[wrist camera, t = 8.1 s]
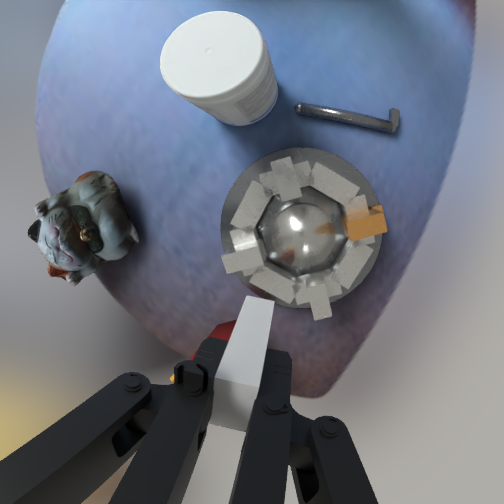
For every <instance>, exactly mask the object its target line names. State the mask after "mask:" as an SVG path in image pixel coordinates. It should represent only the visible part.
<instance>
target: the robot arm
mask: <svg viewBox="0 0 504 504" xmlns="http://www.w3.org/2000/svg"><path fill="white" fill-rule="evenodd" d="M274 302H275V301H271V300H266V299H261V298H257V297H252V296H246V299H245V301H244V304H243V306H242V309H241V311H240V314H239V317H238V319H237V322H236V324H235V327H234V329H233V332H232V334H231V337H230V340H229V341H227V340H223V339H218V338H214V337H209V338H207V339H206V340H204V341H203V342H202V343H201V345H200V347H199V349H198V351H197V353H196V355H195V356H194V358H193V360H186V361H182V362H180V363H178V364H177V365H176V366H175V367H174V384H170V385H157V384H151V383H150V381H149V379H148V378H146V377H145V376H144V375H142V374H140V373H134V372H130V373H124V374H122V375H120V376H118V377H117V378H116V379H114V380H113V381H112V382H110V383H109V384H108V385H106V386H105V387H104V388H102V389H101V390H100V391H98V392H97V393H95V394H94V395H93V396H91V397H90V398H89V399H87V400H86V401H85V402H83V403H82V404H81V405H79V406H78V407H76V408H75V409H74V410H72V411H71V412H69V413H68V414H67V415H65V416H64V417H62V418H61V419H60V420H58V421H57V422H56V423H54V424H53V425H51V426H50V427H49V428H47V429H46V430H44V431H43V432H42V433H40V434H39V435H37V436H36V437H35V438H33V439H32V440H30V441H29V442H27V443H26V444H24V445H23V446H22V447H20V448H19V449H17V450H16V451H14V452H13V453H11V454H10V455H9V456H7V457H6V458H4V459H3V460H1V461H0V504H81V503H82V502H83V501H84V500H85V499H87V498H88V497H89V496H90V495H91V494H92V493H93V492H94V491H95V490H96V489H98V488H99V486H101V485H102V484H103V483H104V482H105V481H106V480H107V479H108V478H109V477H110V476H111V475H112V474H113V473H114V472H116V471H117V470H118V469H119V468H120V467H121V466H122V465H123V464H124V463H125V462H126V461H127V460H128V459H129V458H130V457H131V456H132V455H133V454H134V453H135V452H136V451H137V452H136V454H135V456H134V458H133V459H132V461H131V463H130V465H129V467H128V469H127V471H126V472H125V474H124V476H123V478H122V480H121V481H120V483H119V485H118V487H117V489H116V491H115V492H114V494H113V496H112V498H111V500H110V502H109V503H108V504H181V503H182V500H183V497H184V494H185V492H186V489H187V486H188V484H189V481H190V478H191V475H192V473H193V470H194V467H195V464H196V462H197V459H198V456H199V453H200V450H201V448H202V445H203V442H204V439H205V436H206V432H207V426H208V423H209V420H210V424H214V425H218V426H222V427H226V428H230V429H235V430H239V431H244V432H246V436H245V440H244V443H243V446H242V450H241V456H240V460H239V464H238V468H237V473H236V477H235V481H234V485H233V489H232V493H231V497H230V500H229V504H284V500H285V491H286V481H287V471H288V465H290V466H291V471H292V475H293V480H294V484H295V488H296V493H297V497H298V501H299V504H378V502H377V499H376V497H375V494H374V492H373V489H372V487H371V484H370V482H369V480H368V477H367V475H366V472H365V470H364V467H363V465H362V462H361V460H360V458H359V455H358V453H357V450H356V448H355V446H354V443H353V441H352V438H351V436H350V434H349V431H348V429H347V427H346V426H345V424H344V423H343V422H342V421H341V420H339V419H338V418H335V417H332V416H322V417H318V418H317V419H315V420H311V419H309V418H306V417H304V416H302V415H300V414H298V413H297V412H296V411H295V410H294V409H293V408H292V406H291V404H290V389H291V371H292V370H291V369H292V359H291V357H290V356H289V354H288V352H283V351H278V350H272V349H267V343H268V337H269V331H270V325H271V320H272V314H273V308H274Z"/></svg>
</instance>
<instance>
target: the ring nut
mask: <svg viewBox="0 0 504 504" xmlns="http://www.w3.org/2000/svg"><path fill="white" fill-rule="evenodd" d="M270 164H271V167H272V170H273V171H270V172H266V173H263V174H260V175H259V176H260V179H261V182H259V181H257V180H252V182H251V184H250V186H249V188H248V190H247V192H246V194H245V196H244V198H243V199H242V201H241V203H240V205H239V207H238V209H237V211H236V213H235V215H234V217H233V219H232V221H231V223H230V224H232V225H233V226H235V227H234V228H233V229H232V230H231V231H229V232H230V235H231V238H232V241H233V244H234V246H233V247H229V248H228V249H227V250H226V251H225V252H224V253H223V254H222V255H221V258H222V261H223V264H224V267H225V269H226V272H227V274H229V273H233V272H237V271H241V270H242V271H243V274H244V276H248V275H252V276H251V279H250V281H249V282H250V283H252V284H254V285H255V286H257V287H259V288H261V289H263V290H265V291H267V292H268V293H270V294H272V295H274V296H276V297H278V298H280V299H281V300H283V301H285V302H287V303H289V304H290V303H291V302H292V300H293V298H294V297H295V298H296V302H297V305H299V304H303V303H307V302H310V305H311V308H312V312H313V317H314V321H315V320H319V319H324V318H328V317H332V312H331V307H330V303H329V298H328V297H331V296H335V295H339V294H342V290H341V285H342V286H343V287H345V288H347V289H349V288H350V286H351V285H352V283H353V282H354V280H355V278H356V277H357V275H358V274H359V272H360V271H361V269H362V268H363V266H364V265H365V263H366V261H367V260H368V258H369V257H370V255H371V253H372V252H373V250H374V249H373V248H372V247H370V246H369V245H368V244H370V243H374V242H375V238H374V235H378V234H381V233H385V232H387V226H386V221H385V216H384V212H382V211H379V210H377V209H370V210H368V206H367V202H366V198H365V194H361V193H358V194H357V192H358V191H359V189H360V188H359V187H358V186H356V185H355V184H353V183H351V182H350V181H348V180H347V179H345V178H343V177H342V176H340V175H338V174H337V173H335V172H333V171H332V170H330V169H328V168H326V167H325V166H323V165H321V164H320V163H318V162H315V163H314V165H313V167H312V169H311V168H310V165H309V162H308V161H305V162H301V163H297V164H294V165H293V164H292V160H291V157H290V156H289V157H286V158H282V159H279V160H275V161H272V162H270ZM309 185H310V186H312V187H314V188H315V189H317V190H319V191H320V192H322V193H324V194H326V195H327V196H329V197H331V198H332V199H334V200H336V201H337V202H339V203H340V204H341V208H342V212H343V217H341V221H342V225H343V229H344V233H345V235H346V237H347V238H348V240H347V242H346V244H345V245H344V247H343V249H342V250H341V252H340V253H339V255H338V257H337V258H336V260H335V261H334V263H333V265H332V266H331V268H329V269H325V270H321V271H317V272H313V273H309V274H305V275H301V276H298V277H296V276H295V275H293V274H291V273H289V272H287V271H286V270H284V269H282V268H280V267H278V266H276V265H275V264H273V263H271V262H269V261H267V260H266V257H267V253H266V250H265V247H264V243H263V240H262V239H260V238H259V235H258V232H257V228H256V225H257V223H258V222H259V220H260V218H261V216H262V214H263V212H264V210H265V209H266V207H267V205H268V203H269V201H270V199H271V197H272V196H273V195H277V194H280V196H281V200H282V202H284V201H288V200H291V199H295V198H299V197H302V193H301V190H300V188H301V187H305V186H309Z"/></svg>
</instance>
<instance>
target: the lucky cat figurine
mask: <svg viewBox="0 0 504 504" xmlns="http://www.w3.org/2000/svg"><path fill="white" fill-rule="evenodd" d="M35 213H36V214H37V216H38V218H39V220H36V221H35V222H34V223H33V224H32V225H31V226H30V228H29V230H28V236H29V237H30V238H31V239H32V240H34V241H35V242H36V243H38V246H39V249H40V251H41V253H42V254H43V255H44V256H45V258H46V259H47V261H48V262H49V267H48V273H49V275H50V276H51V277H62V278H63V279H65V280H66V281H67V282H68V283H70V284H72V285H74V286H75V285H77V284H78V283H79V282H80V281H81V280H82V279H83V278H84V277H85V276H89V275H91V274H92V273H94V272H95V271H96V270H97V268H98V267H99V266H100V265H102V264H103V263H105V262H107V261H109V260H117V259H120V258H123V257H124V256H125V255H126V254H127V253H129V249H130V247H131V245H132V244H133V243H134V242H137V243H139V239H138V234H137V231H136V229H135V227H134V225H133V224H132V222H131V220H130V218H129V216H128V214H127V211H126V208H125V205H124V202H123V199H122V196H121V193H120V190H119V188H118V186H117V184H116V183H115V182H114V180H113V178H112V177H110V176H109V175H108V174H106V173H103V172H101V171H90V172H87V173H85V174H83V175H82V176H80V177H79V178H78V179H77V180H76V181H75V183H74V184H73V185H72V186H71V187H69V188H68V189H66V190H64V191H62V192H60V193H58V194H56V195H54V196H52V197H50V198H47V199H45V200H43V201H41V202H39V203H38V204H36V206H35Z"/></svg>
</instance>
